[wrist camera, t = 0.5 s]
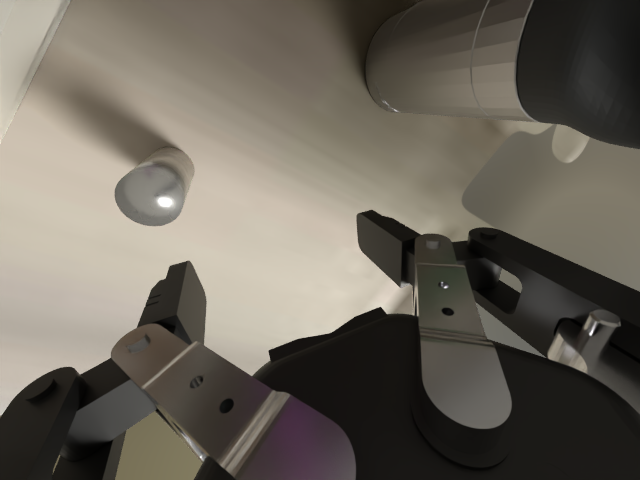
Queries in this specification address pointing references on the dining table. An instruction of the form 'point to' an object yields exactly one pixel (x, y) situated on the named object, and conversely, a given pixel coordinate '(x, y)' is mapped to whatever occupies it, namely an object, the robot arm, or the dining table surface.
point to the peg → (156, 187)
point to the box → (23, 48)
